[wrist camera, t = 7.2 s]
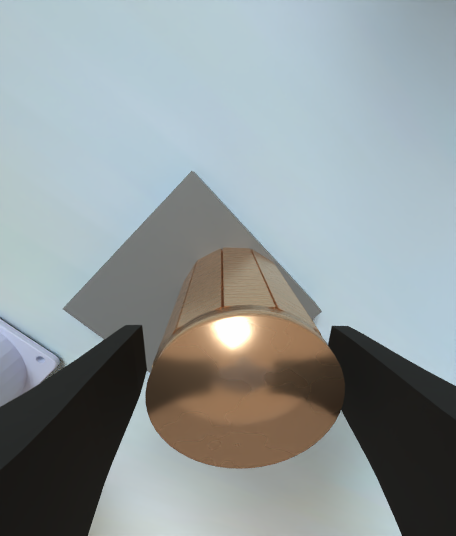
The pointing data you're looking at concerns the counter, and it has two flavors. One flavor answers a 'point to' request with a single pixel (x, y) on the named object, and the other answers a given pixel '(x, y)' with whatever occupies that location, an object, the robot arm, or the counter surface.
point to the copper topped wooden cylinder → (242, 367)
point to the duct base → (165, 265)
